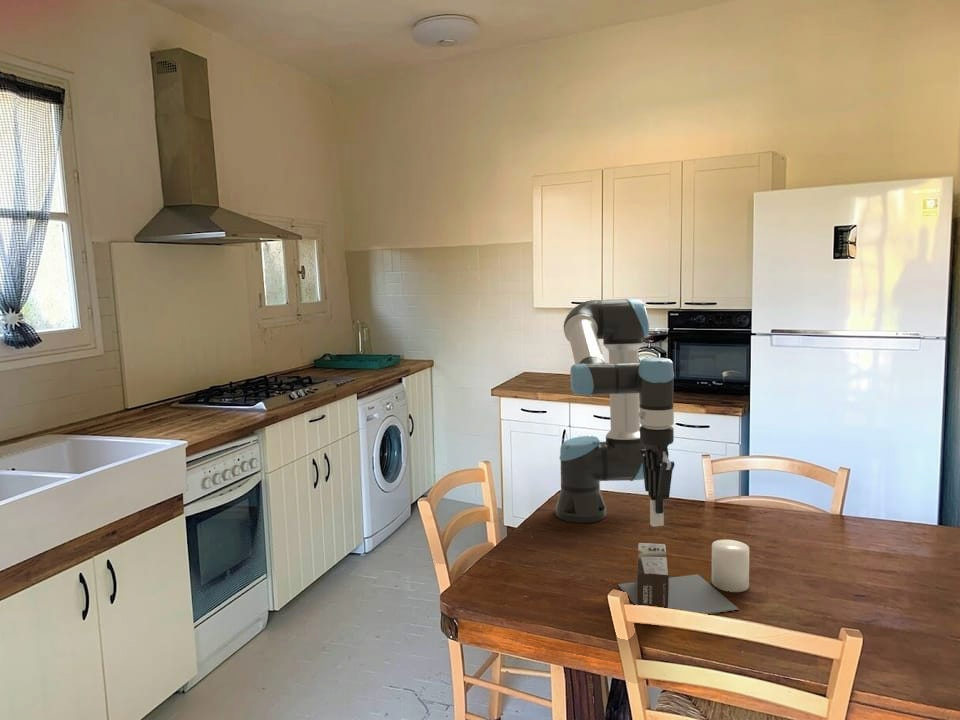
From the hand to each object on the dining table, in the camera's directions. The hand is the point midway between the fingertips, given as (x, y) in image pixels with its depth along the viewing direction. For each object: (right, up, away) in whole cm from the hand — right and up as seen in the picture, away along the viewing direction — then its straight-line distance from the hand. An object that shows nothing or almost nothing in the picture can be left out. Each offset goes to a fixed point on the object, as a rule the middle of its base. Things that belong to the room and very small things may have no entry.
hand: (656, 524), depth 151 cm
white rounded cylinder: (+16, -13, -2) cm, 21 cm away
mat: (+2, -14, -7) cm, 16 cm away
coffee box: (-1, -9, 0) cm, 9 cm away
